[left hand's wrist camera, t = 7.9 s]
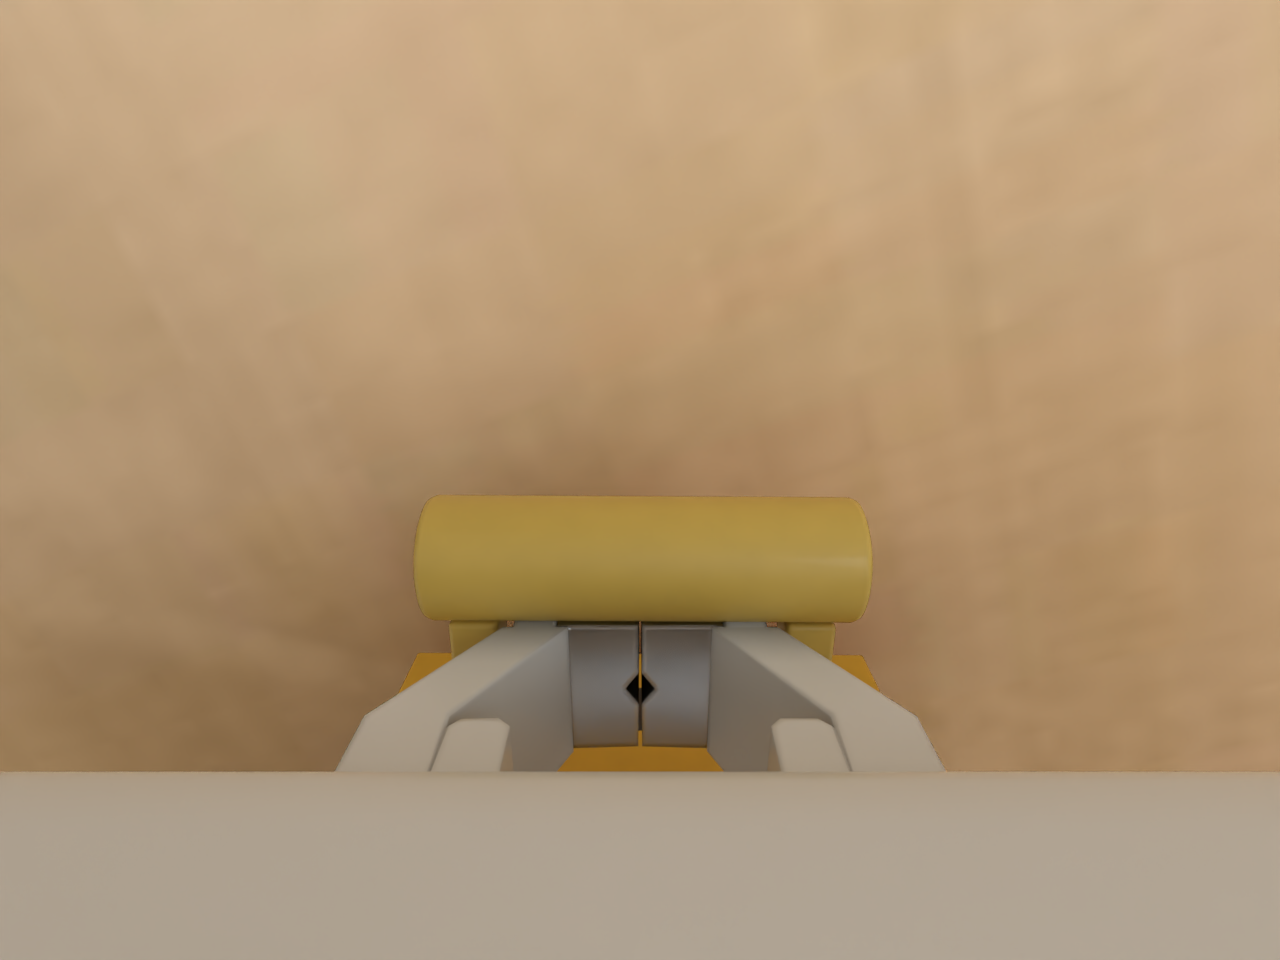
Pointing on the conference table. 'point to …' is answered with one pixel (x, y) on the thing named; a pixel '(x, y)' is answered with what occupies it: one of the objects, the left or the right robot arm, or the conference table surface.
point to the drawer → (642, 576)
